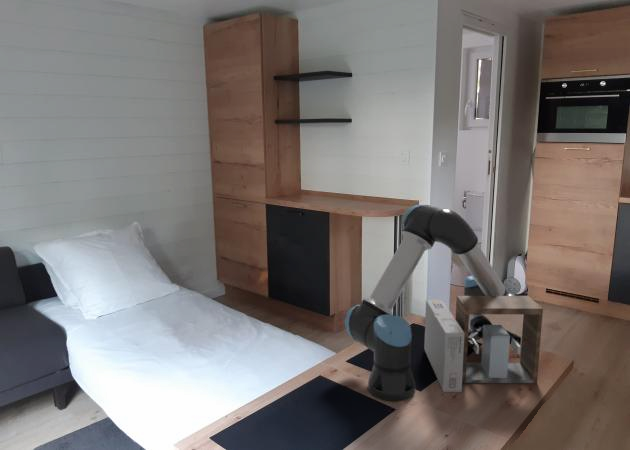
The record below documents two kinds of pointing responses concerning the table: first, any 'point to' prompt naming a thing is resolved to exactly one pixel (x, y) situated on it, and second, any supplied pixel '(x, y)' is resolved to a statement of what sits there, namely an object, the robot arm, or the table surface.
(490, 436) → the table surface
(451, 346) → the packaging
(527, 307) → the walnut shelf
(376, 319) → the robot arm
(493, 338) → the tall grey lidded box
